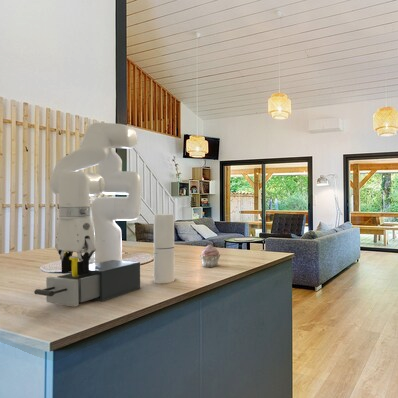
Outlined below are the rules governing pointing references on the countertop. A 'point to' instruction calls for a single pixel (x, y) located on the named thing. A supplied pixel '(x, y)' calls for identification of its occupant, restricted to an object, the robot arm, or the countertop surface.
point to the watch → (74, 265)
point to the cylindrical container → (163, 248)
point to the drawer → (71, 289)
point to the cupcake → (210, 256)
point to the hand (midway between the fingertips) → (75, 272)
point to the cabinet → (116, 277)
